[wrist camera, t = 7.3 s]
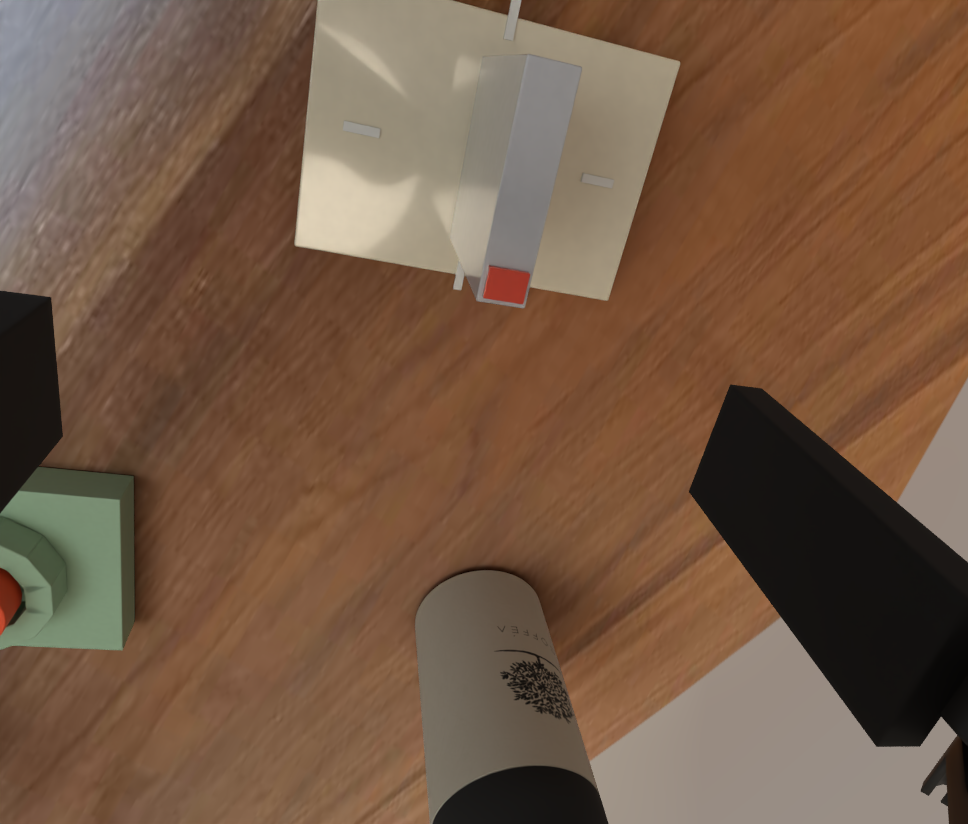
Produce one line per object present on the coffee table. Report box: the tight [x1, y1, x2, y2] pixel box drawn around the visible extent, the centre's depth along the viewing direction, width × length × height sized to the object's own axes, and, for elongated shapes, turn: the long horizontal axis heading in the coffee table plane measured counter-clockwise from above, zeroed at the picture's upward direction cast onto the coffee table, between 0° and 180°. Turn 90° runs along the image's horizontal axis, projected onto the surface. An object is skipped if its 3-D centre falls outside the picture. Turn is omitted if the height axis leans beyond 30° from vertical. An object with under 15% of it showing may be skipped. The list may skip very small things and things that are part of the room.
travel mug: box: [415, 570, 608, 824], centre depth 35 cm, size 8×8×18 cm
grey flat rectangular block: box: [449, 54, 582, 308], centre depth 23 cm, size 7×2×9 cm, turn 168°
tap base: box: [294, 0, 680, 301], centre depth 29 cm, size 14×11×3 cm
